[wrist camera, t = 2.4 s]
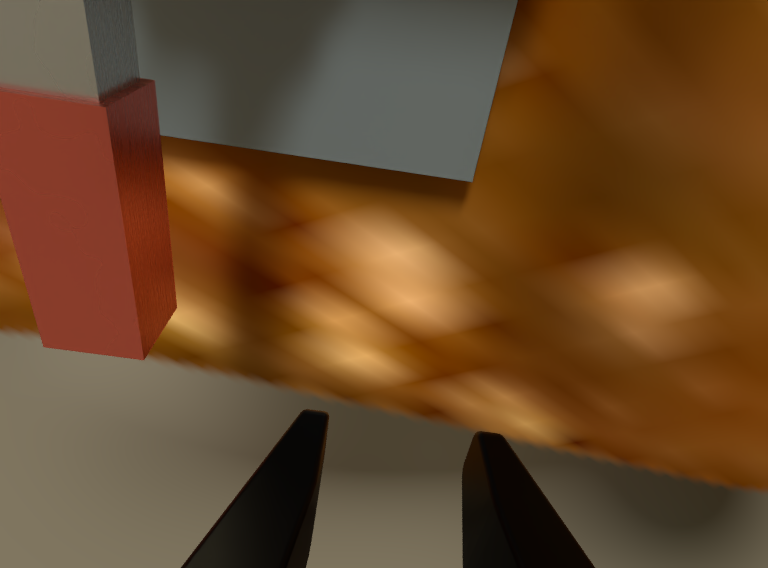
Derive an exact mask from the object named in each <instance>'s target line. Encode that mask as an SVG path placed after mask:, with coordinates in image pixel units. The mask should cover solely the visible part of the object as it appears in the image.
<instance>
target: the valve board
mask: <svg viewBox="0 0 768 568" xmlns="http://www.w3.org/2000/svg"><path fill="white" fill-rule="evenodd" d="M517 2H518V0H131V3H132V12H133V21H134V30H135V39H136V47H137V56H138V65H139V74H140V78H144V79H151V80H155V86H156V97H157V107H158V117H159V128H160V135H163V136H169V137H176V138H183V139H189V140H196V141H203V142H209V143H216V144H223V145H229V146H236V147H243V148H249V149H256V150H263V151H269V152H276V153H283V154H289V155H296V156H302V157H309V158H316V159H322V160H329V161H336V162H342V163H349V164H356V165H362V166H369V167H376V168H382V169H389V170H396V171H402V172H409V173H416V174H422V175H429V176H436V177H442V178H449V179H456V180H462V181H469V182H472V181H473V177H474V173H475V169H476V165H477V161H478V157H479V153H480V149H481V145H482V141H483V137H484V133H485V129H486V125H487V121H488V117H489V113H490V109H491V105H492V101H493V97H494V93H495V89H496V85H497V81H498V77H499V73H500V69H501V65H502V61H503V57H504V53H505V49H506V45H507V41H508V37H509V33H510V29H511V25H512V22H513V18H514V14H515V10H516V6H517Z"/></svg>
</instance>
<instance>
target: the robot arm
mask: <svg viewBox="0 0 768 568" xmlns="http://www.w3.org/2000/svg"><path fill="white" fill-rule="evenodd" d="M328 422H329V415H328V413H327V412H325V411H316V410H309V409H306V410H303V411H302V412H301V413H300V414H299V415H298V417H297V418H296V419H295V421H294V422H293V423H292V424H291V426H290V427H289V428H288V430H287V431H286V432H285V433H284V435H283V436H282V437H281V439H280V440H279V441H278V443H277V444H276V445H275V446H274V448H273V449H272V450H271V452H270V453H269V454H268V456H267V457H266V458H265V459H264V461H263V462H262V463H261V465H260V466H259V467H258V469H257V470H256V471H255V472H254V474H253V475H252V476H251V477H250V479H249V480H248V481H247V483H246V484H245V485H244V487H243V488H242V489H241V491H240V492H239V493H238V494H237V496H236V497H235V498H234V500H233V501H232V502H231V503H230V505H229V506H228V507H227V509H226V510H225V511H224V512H223V514H222V515H221V516H220V518H219V519H218V520H217V522H216V523H215V524H214V525H213V527H212V528H211V529H210V531H209V532H208V533H207V535H206V536H205V537H204V538H203V540H202V541H201V542H200V544H199V545H198V546H197V547H196V549H195V550H194V551H193V553H192V554H191V555H190V557H189V558H188V559H187V560H186V562H185V563H184V564H183V566H182V567H181V568H306V565H307V560H308V557H309V551H310V546H311V541H312V534H313V528H314V521H315V514H316V507H317V501H318V494H319V488H320V481H321V475H322V468H323V462H324V455H325V448H326V440H327V431H328ZM462 518H463V519H462V525H463V527H462V530H463V531H462V532H463V568H595V567H594V566H593V564H592V563H591V561H590V560H589V559H588V557H587V556H586V554H585V553H584V551H583V550H582V548H581V547H580V545H579V544H578V542H577V541H576V540H575V538H574V537H573V535H572V534H571V532H570V531H569V530H568V528H567V527H566V525H565V524H564V522H563V521H562V520H561V518H560V517H559V515H558V514H557V512H556V511H555V509H554V508H553V507H552V505H551V504H550V502H549V501H548V499H547V498H546V496H545V495H544V494H543V492H542V491H541V489H540V488H539V486H538V485H537V484H536V482H535V481H534V480H533V478H532V477H531V475H530V474H529V472H528V471H527V469H526V468H525V466H524V465H523V464H522V462H521V461H520V459H519V458H518V456H517V455H516V453H515V452H514V451H513V450H512V448H511V446H510V445H509V443H508V442H507V440H506V439H505V438H504V437H503V436H502V435H500V434H498V433H490V432H482V431H479V432H476V433H475V435H474V437H473V439H472V442H471V445H470V448H469V451H468V453H467V456H466V459H465V462H464V466H463V472H462Z"/></svg>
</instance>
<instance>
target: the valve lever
mask: <svg viewBox="0 0 768 568" xmlns="http://www.w3.org/2000/svg"><path fill="white" fill-rule="evenodd" d="M0 198H1V201H2V204H3V208H4V211H5V215H6V218H7V222H8V225H9V229H10V232H11V236H12V239H13V243H14V246H15V249H16V253H17V256H18V260H19V263H20V267H21V270H22V274H23V277H24V281H25V284H26V288H27V291H28V295H29V298H30V301H31V305H32V308H33V312H34V315H35V319H36V322H37V326H38V329H39V333H40V336H41V340H42V343H43V346H44V347H47V348H54V349H63V350H71V351H78V352H85V353H93V354H101V355H108V356H116V357H124V358H131V359H139V360H144V359H145V358H146V356H147V354H148V353H149V351H150V350H151V348H152V347H153V345H154V343H155V342H156V340H157V339H158V337H159V335H160V334H161V332H162V331H163V329H164V327H165V326H166V324H167V323H168V321H169V319H170V318H171V316H172V315H173V313H174V312H175V310H176V308H177V303H176V292H175V282H174V272H173V261H172V251H171V241H170V231H169V220H168V210H167V200H166V189H165V179H164V169H163V158H162V148H161V138H160V128H159V117H158V107H157V97H156V86H155V80H151V79H144V78H140V74H139V65H138V56H137V47H136V39H135V30H134V21H133V12H132V3H131V0H0Z"/></svg>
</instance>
